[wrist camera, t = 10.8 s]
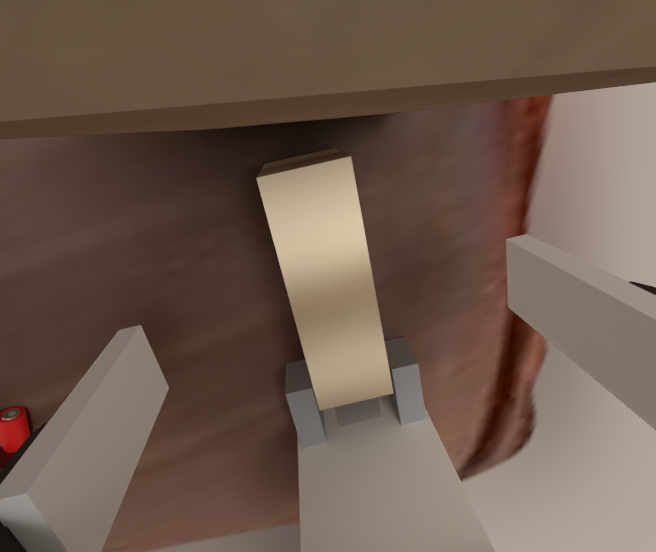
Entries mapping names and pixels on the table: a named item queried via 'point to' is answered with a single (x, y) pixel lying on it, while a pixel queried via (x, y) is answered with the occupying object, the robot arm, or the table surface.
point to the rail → (328, 279)
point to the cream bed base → (378, 472)
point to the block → (300, 59)
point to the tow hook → (12, 433)
